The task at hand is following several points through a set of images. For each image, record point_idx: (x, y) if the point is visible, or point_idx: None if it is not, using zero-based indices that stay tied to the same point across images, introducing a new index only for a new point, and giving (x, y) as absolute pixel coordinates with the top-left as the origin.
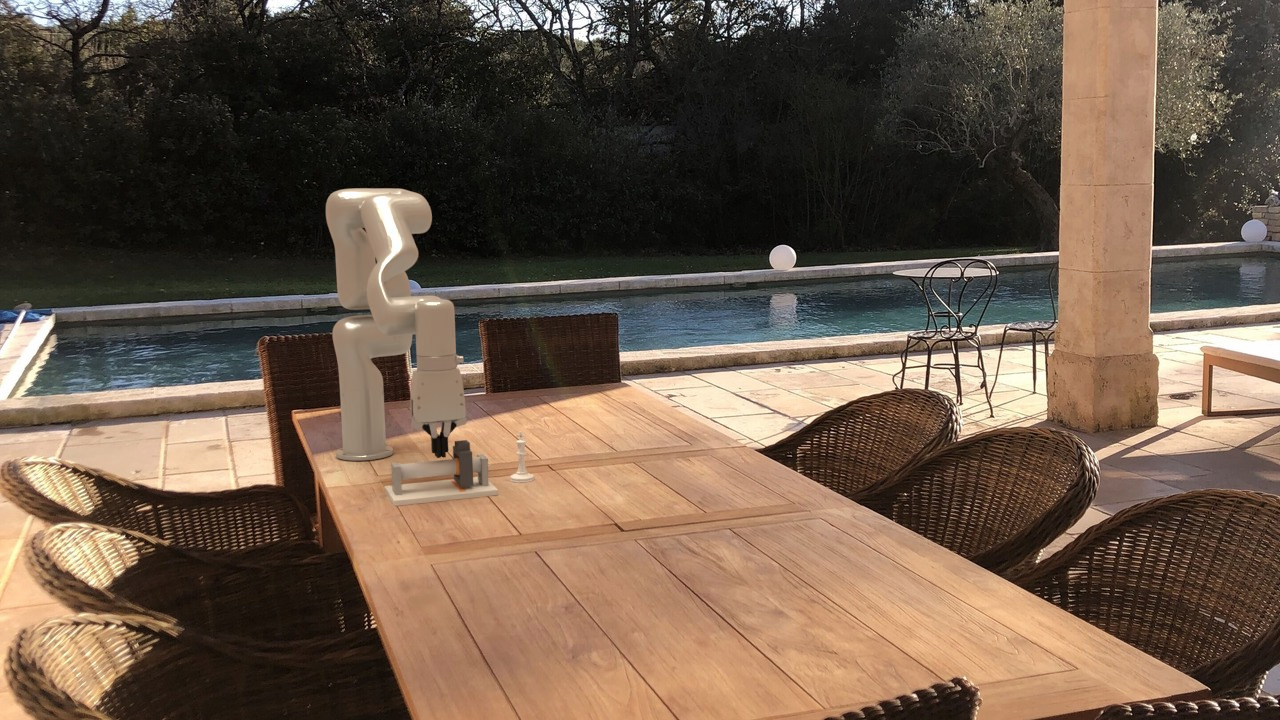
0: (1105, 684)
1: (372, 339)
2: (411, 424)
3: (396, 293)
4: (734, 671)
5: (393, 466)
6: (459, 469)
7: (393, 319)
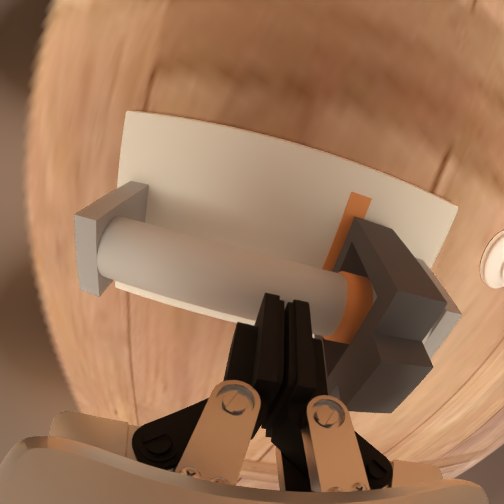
0: None
1: None
2: (56, 436)
3: None
4: None
5: (78, 272)
6: (323, 341)
7: None
